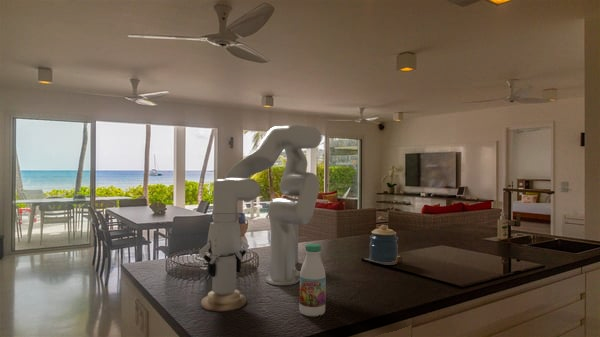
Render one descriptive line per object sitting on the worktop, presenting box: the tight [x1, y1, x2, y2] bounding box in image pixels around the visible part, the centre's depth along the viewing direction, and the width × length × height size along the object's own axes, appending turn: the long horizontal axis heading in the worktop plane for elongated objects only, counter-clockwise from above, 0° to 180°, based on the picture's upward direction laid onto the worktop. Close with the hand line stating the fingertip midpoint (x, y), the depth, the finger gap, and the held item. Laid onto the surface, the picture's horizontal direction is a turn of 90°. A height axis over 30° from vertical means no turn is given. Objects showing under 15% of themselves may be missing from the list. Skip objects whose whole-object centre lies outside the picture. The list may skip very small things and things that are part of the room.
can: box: [211, 254, 237, 295], centre depth 117 cm, size 8×8×12 cm
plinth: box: [200, 289, 247, 312], centre depth 117 cm, size 14×14×3 cm
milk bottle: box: [298, 243, 327, 317], centre depth 110 cm, size 8×8×20 cm
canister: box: [369, 224, 399, 262], centre depth 170 cm, size 13×13×18 cm
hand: (224, 273), depth 117 cm, fingers open, 7 cm apart
